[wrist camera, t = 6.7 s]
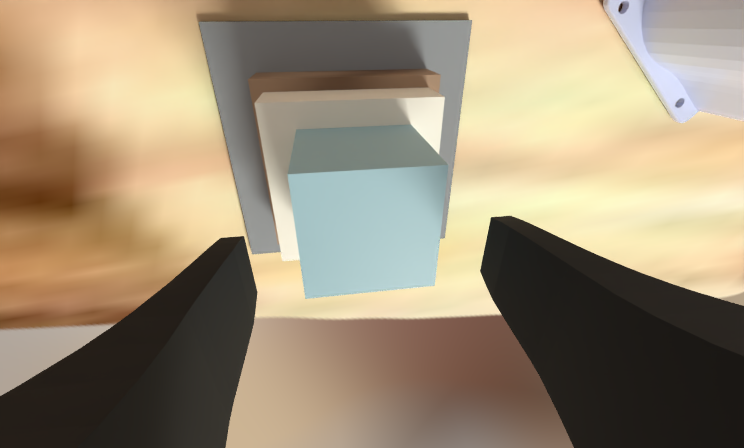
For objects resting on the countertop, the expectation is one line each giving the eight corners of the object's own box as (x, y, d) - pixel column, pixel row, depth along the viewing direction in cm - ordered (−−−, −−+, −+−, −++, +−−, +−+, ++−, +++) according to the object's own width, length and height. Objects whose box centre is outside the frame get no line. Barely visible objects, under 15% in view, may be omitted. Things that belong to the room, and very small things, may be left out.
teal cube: (411, 124, 13) (448, 165, 9) (405, 221, 15) (434, 285, 12) (296, 129, 13) (287, 174, 9) (308, 229, 15) (305, 298, 11)
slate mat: (469, 20, 16) (472, 20, 16) (443, 235, 22) (444, 238, 22) (200, 21, 14) (198, 21, 14) (253, 251, 20) (252, 254, 20)
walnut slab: (426, 68, 16) (440, 74, 14) (416, 213, 20) (426, 232, 19) (256, 72, 15) (248, 79, 13) (281, 223, 19) (277, 244, 18)
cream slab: (428, 87, 15) (444, 96, 13) (418, 225, 18) (429, 248, 16) (262, 92, 14) (254, 103, 12) (286, 235, 17) (282, 261, 16)
